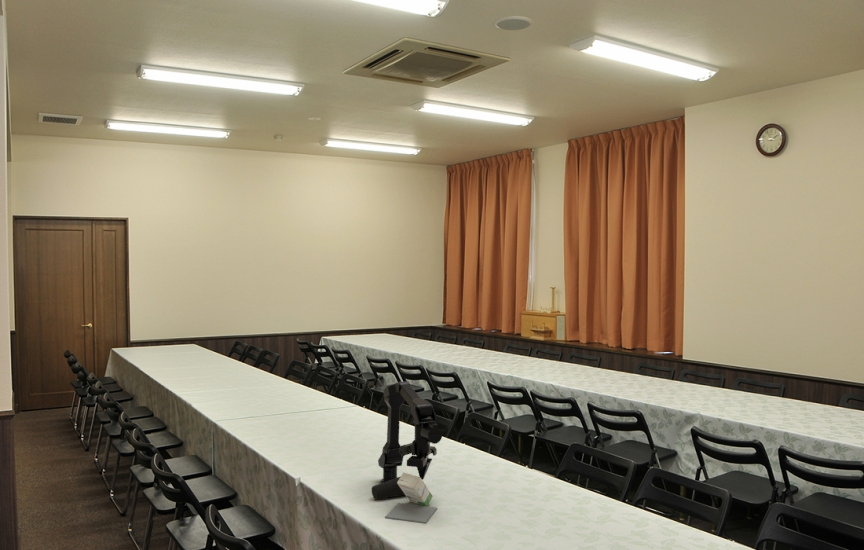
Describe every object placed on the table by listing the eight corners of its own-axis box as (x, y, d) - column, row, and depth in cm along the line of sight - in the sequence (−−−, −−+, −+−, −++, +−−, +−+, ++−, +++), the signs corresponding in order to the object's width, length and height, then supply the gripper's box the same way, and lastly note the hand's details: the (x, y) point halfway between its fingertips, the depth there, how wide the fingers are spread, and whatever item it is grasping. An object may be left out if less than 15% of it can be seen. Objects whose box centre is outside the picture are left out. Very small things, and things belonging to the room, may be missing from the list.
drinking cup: (369, 481, 243) (415, 470, 253) (371, 501, 243) (417, 489, 252) (377, 483, 237) (424, 472, 246) (379, 504, 236) (426, 492, 246)
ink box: (433, 495, 235) (420, 476, 229) (426, 507, 232) (414, 488, 226) (415, 490, 241) (402, 471, 235) (409, 501, 238) (396, 482, 232)
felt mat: (398, 504, 235) (398, 502, 235) (437, 508, 231) (437, 507, 231) (384, 518, 222) (384, 516, 222) (426, 523, 217) (426, 521, 217)
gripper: (409, 429, 247) (409, 469, 247) (393, 441, 229) (392, 485, 229) (437, 431, 244) (436, 472, 244) (422, 444, 226) (422, 488, 226)
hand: (421, 479), depth 236 cm, fingers closed
